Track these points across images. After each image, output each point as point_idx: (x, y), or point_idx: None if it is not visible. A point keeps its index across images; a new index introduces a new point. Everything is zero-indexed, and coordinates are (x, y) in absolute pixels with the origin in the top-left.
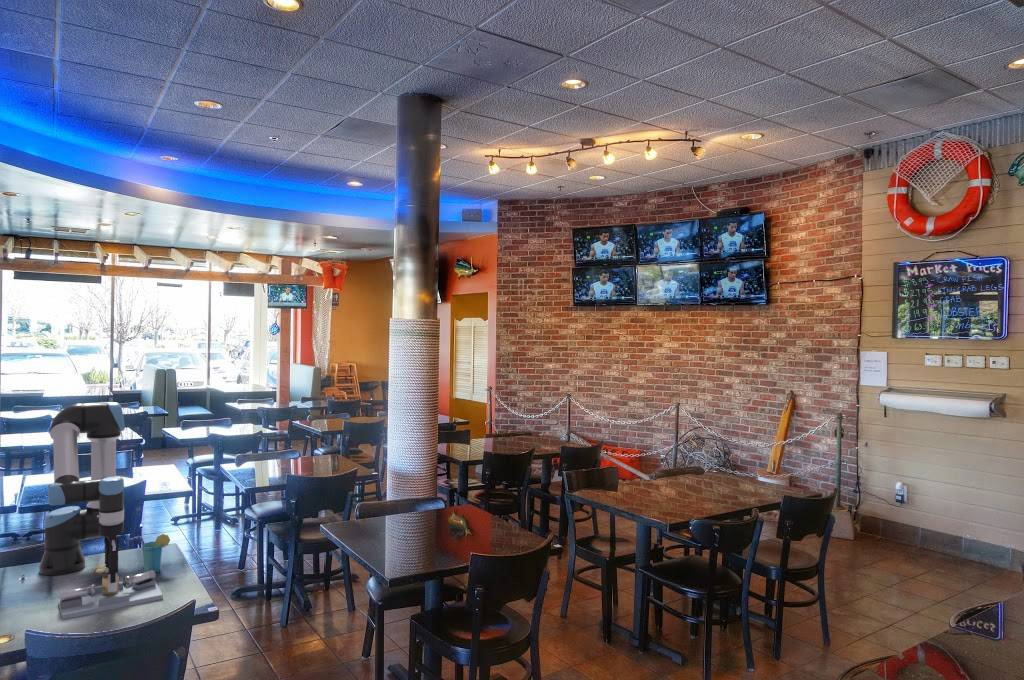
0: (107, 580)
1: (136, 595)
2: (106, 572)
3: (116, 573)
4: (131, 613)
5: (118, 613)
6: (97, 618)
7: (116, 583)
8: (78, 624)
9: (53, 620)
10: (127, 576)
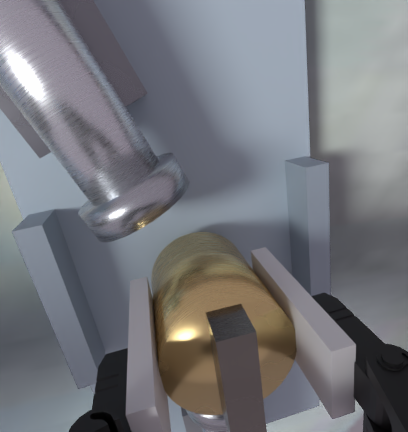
0: (285, 360)
1: (229, 115)
2: (169, 426)
3: (349, 341)
4: (401, 136)
5: (366, 197)
6: (370, 274)
7: (290, 279)
8: (386, 327)
9: (300, 412)
10: (139, 211)
